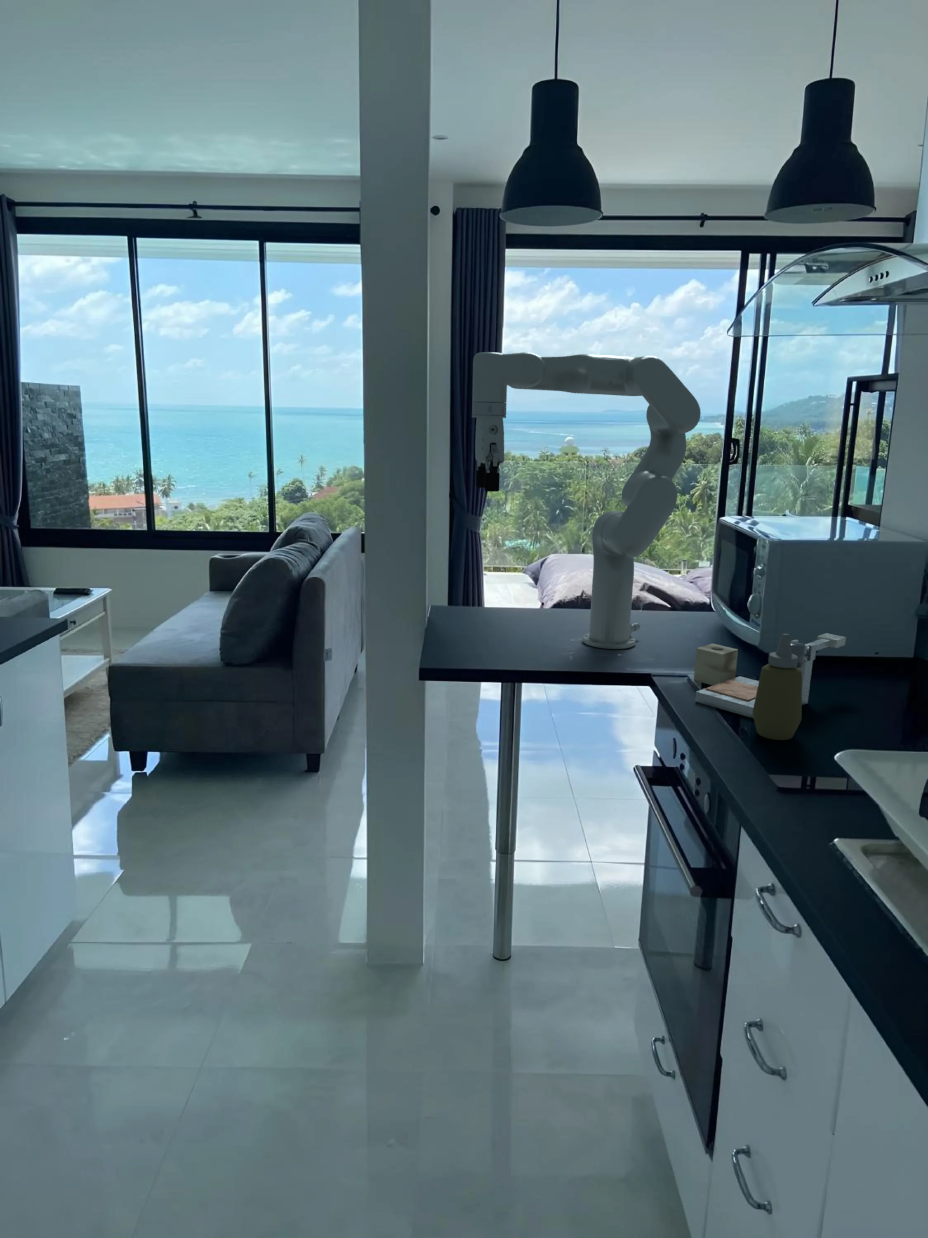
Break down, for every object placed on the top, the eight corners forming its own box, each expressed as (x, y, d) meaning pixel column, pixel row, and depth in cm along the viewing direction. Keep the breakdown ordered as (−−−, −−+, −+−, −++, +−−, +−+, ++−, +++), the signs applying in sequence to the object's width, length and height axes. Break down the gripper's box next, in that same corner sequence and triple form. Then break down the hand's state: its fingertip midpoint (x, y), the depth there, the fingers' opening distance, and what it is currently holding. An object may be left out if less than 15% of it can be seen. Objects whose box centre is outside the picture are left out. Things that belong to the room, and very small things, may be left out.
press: (739, 685, 178) (745, 628, 175) (810, 703, 167) (817, 643, 165) (695, 701, 167) (700, 641, 164) (768, 722, 156) (775, 658, 154)
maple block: (709, 675, 185) (712, 643, 183) (734, 681, 181) (738, 649, 179) (693, 680, 181) (696, 647, 179) (719, 687, 177) (722, 654, 175)
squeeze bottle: (768, 745, 145) (780, 641, 141) (740, 728, 153) (751, 629, 149) (809, 741, 148) (822, 639, 143) (780, 725, 155) (791, 627, 151)
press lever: (823, 646, 177) (826, 627, 176) (845, 650, 174) (847, 631, 173) (773, 664, 163) (775, 643, 162) (795, 669, 160) (798, 648, 159)
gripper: (514, 411, 183) (512, 493, 187) (497, 411, 200) (495, 486, 204) (480, 410, 182) (478, 493, 186) (465, 410, 198) (464, 486, 202)
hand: (487, 489), depth 195 cm, fingers open, 9 cm apart
